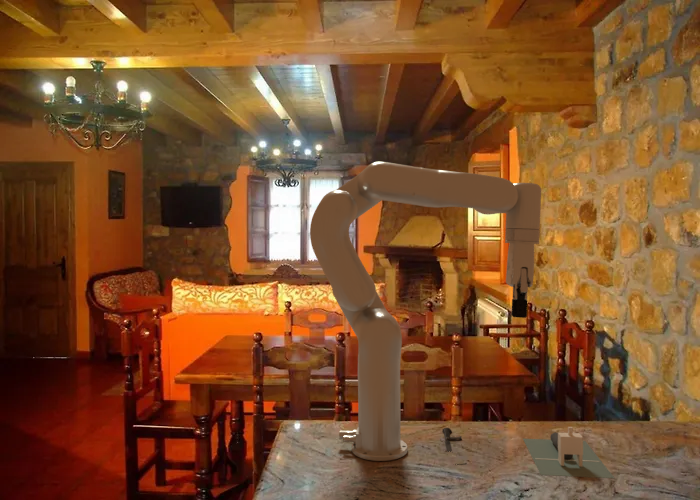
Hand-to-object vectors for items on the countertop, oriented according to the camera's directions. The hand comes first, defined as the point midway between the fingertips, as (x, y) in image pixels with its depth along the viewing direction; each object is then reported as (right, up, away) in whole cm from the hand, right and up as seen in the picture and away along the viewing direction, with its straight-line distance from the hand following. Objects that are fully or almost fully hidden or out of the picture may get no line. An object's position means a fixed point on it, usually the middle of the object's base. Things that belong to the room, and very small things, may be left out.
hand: (519, 316), depth 129 cm
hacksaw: (-12, -31, -2) cm, 33 cm away
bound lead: (+8, -29, -5) cm, 30 cm away
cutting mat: (+7, -30, -8) cm, 32 cm away
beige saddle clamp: (+7, -29, -13) cm, 32 cm away
